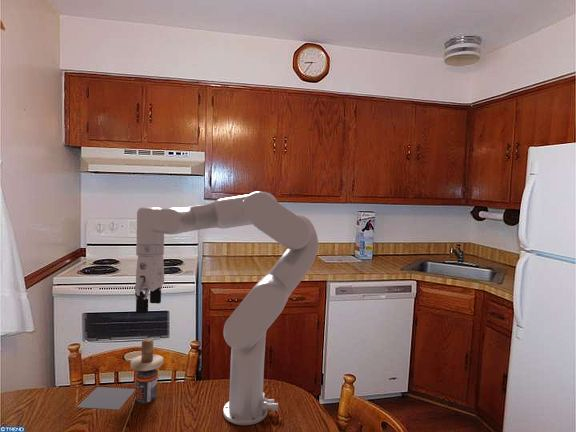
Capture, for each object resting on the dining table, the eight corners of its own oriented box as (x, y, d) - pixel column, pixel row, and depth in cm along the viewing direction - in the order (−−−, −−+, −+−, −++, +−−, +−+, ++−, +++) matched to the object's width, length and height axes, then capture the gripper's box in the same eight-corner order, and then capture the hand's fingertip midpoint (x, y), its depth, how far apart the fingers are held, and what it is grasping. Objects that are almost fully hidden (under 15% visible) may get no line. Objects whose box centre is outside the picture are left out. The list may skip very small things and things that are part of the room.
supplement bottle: (130, 403, 107) (131, 365, 107) (146, 393, 112) (147, 357, 112) (144, 409, 104) (145, 370, 104) (161, 399, 110) (162, 362, 109)
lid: (167, 358, 112) (168, 335, 112) (156, 371, 103) (157, 347, 103) (138, 356, 112) (139, 334, 112) (124, 370, 103) (125, 345, 103)
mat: (135, 392, 113) (136, 389, 113) (118, 413, 102) (118, 409, 102) (97, 390, 113) (97, 387, 113) (76, 410, 102) (76, 407, 102)
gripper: (151, 254, 98) (149, 317, 98) (173, 246, 115) (171, 300, 116) (123, 253, 98) (122, 316, 99) (149, 245, 115) (148, 299, 116)
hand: (148, 307), depth 107 cm, fingers open, 9 cm apart
